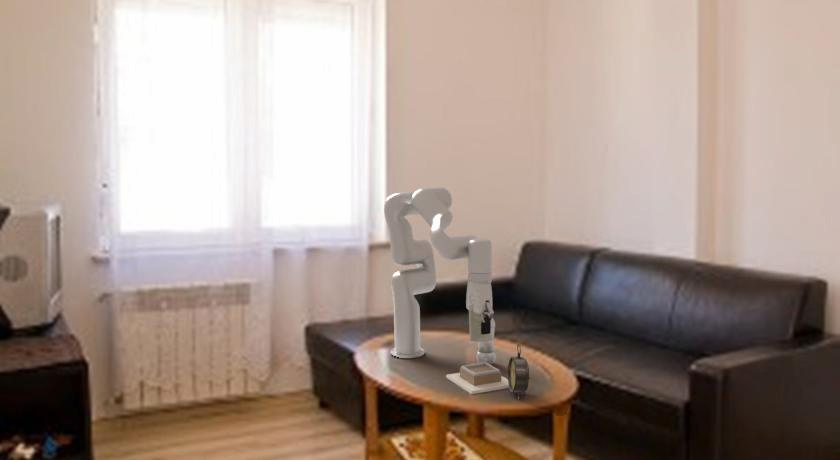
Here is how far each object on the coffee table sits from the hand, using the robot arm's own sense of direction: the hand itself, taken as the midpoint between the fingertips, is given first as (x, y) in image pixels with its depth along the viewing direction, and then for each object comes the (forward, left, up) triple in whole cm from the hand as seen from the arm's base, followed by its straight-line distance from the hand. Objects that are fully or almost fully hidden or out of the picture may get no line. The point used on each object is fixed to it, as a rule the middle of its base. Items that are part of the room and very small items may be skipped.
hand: (479, 330), depth 244 cm
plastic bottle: (-16, +11, -17) cm, 26 cm away
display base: (0, 0, -17) cm, 17 cm away
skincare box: (0, 0, -3) cm, 3 cm away
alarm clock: (+16, +5, -17) cm, 24 cm away
